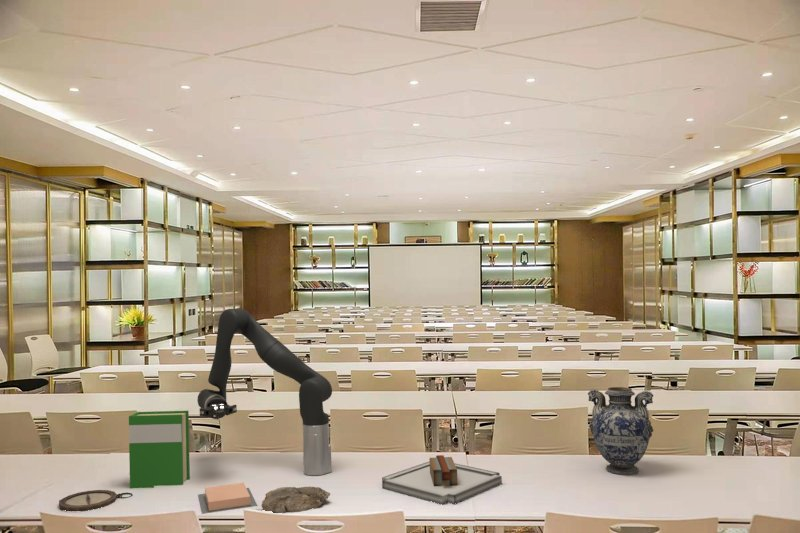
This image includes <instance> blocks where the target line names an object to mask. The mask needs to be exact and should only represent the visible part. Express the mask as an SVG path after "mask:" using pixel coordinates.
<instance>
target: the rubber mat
mask: <svg viewBox="0 0 800 533" xmlns="http://www.w3.org/2000/svg"><path fill="white" fill-rule="evenodd" d="M246 489H247V491H248V493H249V495H250V505H249V506H242V507H236V508H229V509H222V510H215V511H209V510H208V506H207V502H206V498H205V493H201V494H200V493H199V494H197V497H198V501H199V507H200V512H201V514H202V515H204V514H210V513H211V514H212V513H217V512H225V511H232V510H238V509H245V508H246V509H247V508H253V507H258V504H257V502H256V499H255V497H254V496H253V493H252V491H251V489H250V488H249V487H246Z"/></svg>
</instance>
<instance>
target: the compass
mask: <svg viewBox="0 0 800 533" xmlns="http://www.w3.org/2000/svg"><path fill="white" fill-rule="evenodd" d="M123 495H129V496H123ZM133 496H134V495H133V493H131V492H122V493H118V494H117V493H116V492H115V491H113V490H109V489H108V490H107V489H96V490H95V489H94V490H85V491H79V492H76V493H72V494H69V495H67V496H65V497H63V498H61V499H59V501H58V507H60V508H59V509H60V510H61V511H63V510H66V511H65V512H67V511H81V512H89V511H93V509H94V510H99V509H101V507H102V508H104V507H107V506H110V505H112V504H113V503H115V502H116V500H117V499H127V498H132V497H133ZM98 508H99V509H98ZM88 510H89V511H88Z"/></svg>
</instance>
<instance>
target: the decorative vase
mask: <svg viewBox="0 0 800 533" xmlns="http://www.w3.org/2000/svg"><path fill="white" fill-rule="evenodd" d="M587 395H588V399H587V400H588V402H592V403H593V404H594V405H593V408H592V411H591V414H592V417H591V421H590V422H589V425H588V427H589V429H590V433H591V435H593V440H594V442H595V445H596V447H597V450H598V452H599V453H600V455H601V456H602V458H603V459H604V460H606V462H608V463H609V464H607V465H606V466H605V467H606V468H605V470H606V471H607V472H609V473H611V474H613V475H614V474H615V475H625V476H631V475H637V474H638V473H640V470H639V468H638V467H637V466H636V464H637V463H638V462H640V461H641V459H642V458H643V457H644V455H645V453H646V451H647V449H648V446H649V443H650V438H651V437H652V436H653V433H654V429H653V426H652V422H651V420H649V419H650V414H649V413H650V412H649V410H648V408H647V407H648V405H649V404H653V403H654V401H653V397H654V394H653V393H652V391H649V390H643V391H640V392H639V393H637V394H636V393H635V392H634V391H633V390H632V388H630V387H624V386H623V387H621V386H619V387H618V386H613V387H608V388H607V390H606V391H604V394H603V392H601V391H599V390H598V389H592V390H591V389H589V392H588V393H587ZM605 395H607V396H608V403H609V404H607V402H606V396H605ZM633 396H635V397H634V405H632V402H633V401H632V397H633ZM643 401H644V402H643Z"/></svg>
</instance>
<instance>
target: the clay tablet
mask: <svg viewBox="0 0 800 533" xmlns="http://www.w3.org/2000/svg"><path fill="white" fill-rule="evenodd" d="M330 496H331V492H329V491H326V490H325V489H323V488H321V487H320V486H319V487H318V486H301V487H296V486H283V487H282V486H281V487H277V488H276V489H273V490H270V491H268V492H266V493H265V497H264V499H263V500H262V501H261V508H262V509H261V511H262V510H265V511H272V512H283V513H286V512H289V513H290V512H291V513H294V512H305V511H307V510H313V509H312V508H314V509H317V508H319V507H321V505H322V504H323V503H324V501H325V500H327V499H328V498H330Z"/></svg>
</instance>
